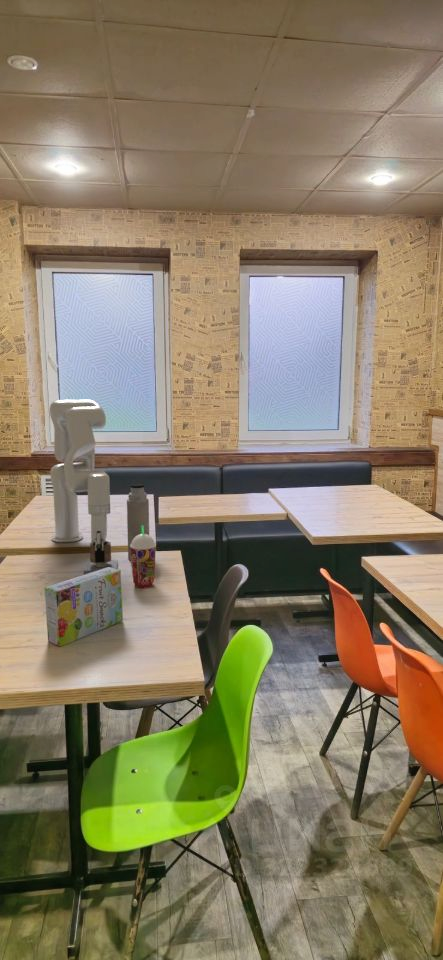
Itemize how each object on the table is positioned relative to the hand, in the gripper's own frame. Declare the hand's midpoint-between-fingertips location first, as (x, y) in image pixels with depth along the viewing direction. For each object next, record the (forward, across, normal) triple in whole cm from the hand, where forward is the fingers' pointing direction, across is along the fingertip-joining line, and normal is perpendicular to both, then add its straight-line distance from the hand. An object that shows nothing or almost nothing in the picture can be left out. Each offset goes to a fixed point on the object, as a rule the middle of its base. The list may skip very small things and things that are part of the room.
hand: (100, 557), depth 212 cm
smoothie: (+4, +18, +15) cm, 24 cm away
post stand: (+4, 0, 0) cm, 4 cm away
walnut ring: (+1, 0, 0) cm, 1 cm away
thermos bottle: (+4, -12, +13) cm, 18 cm away
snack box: (+4, +52, 0) cm, 52 cm away
